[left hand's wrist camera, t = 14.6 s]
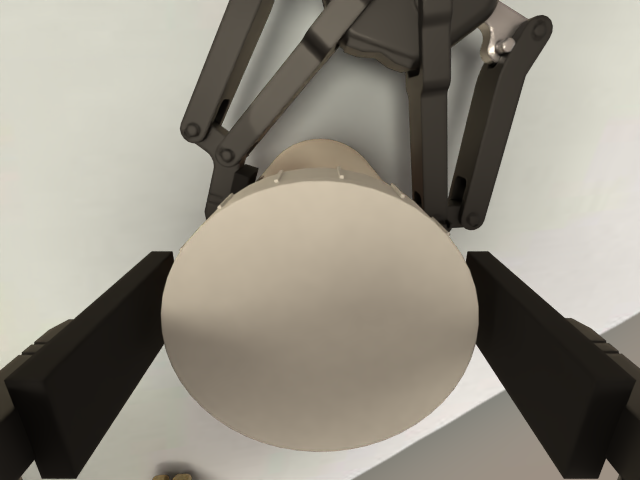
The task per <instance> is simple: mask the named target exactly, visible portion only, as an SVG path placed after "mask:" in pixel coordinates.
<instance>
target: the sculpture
mask: <svg viewBox="0 0 640 480" xmlns="http://www.w3.org/2000/svg"><path fill="white" fill-rule="evenodd" d="M152 480H169V476H168V475H158V476H155V477H154V478H153V479H152ZM172 480H192V477H191V475H190V474H177V475H176V476H175V477H174V478H173V479H172Z"/></svg>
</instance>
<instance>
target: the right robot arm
mask: <svg viewBox="0 0 640 480" xmlns="http://www.w3.org/2000/svg"><path fill="white" fill-rule="evenodd" d="M322 3H323V6H324V10H323V12H322V13H321V14H320V15H319V17H318V18H317V19H316V20H315V22H314V23H313V24H312V25H311V27H310V28H309V29H308V31H307V32H306V34H305V36H304V38H303V39H302V41H301V42H300V43H299V45H298V46H297V47H296V48H295V50H294V51H293V52H292V53H291V55H290V56H289V57H288V58H287V60H286V61H285V62H284V63H283V65H282V66H281V67H280V68H279V70H278V71H277V72H276V73H275V75H274V76H273V77H272V79H271V80H270V81H269V82H268V84H267V85H266V86H265V87H264V89H263V90H262V91H261V92H260V94H259V95H258V96H257V97H256V99H255V100H254V101H253V102H252V104H251V105H250V106H249V107H248V109H247V110H246V111H245V112H244V114H243V115H242V116H241V118H240V119H239V120H238V121H237V123H236V124H235V125H234V126H233V128H232V129H231V130H230V131H227V130H226V129H225V128H223V127H222V126H221V125H222V123H223V121H224V118H225V116H226V114H227V111H228V109H229V107H230V104H231V102H232V100H233V97H234V95H235V93H236V90H237V88H238V86H239V84H240V81H241V79H242V77H243V74H244V72H245V70H246V67H247V65H248V63H249V60H250V58H251V56H252V53H253V51H254V49H255V47H256V44H257V42H258V40H259V37H260V35H261V33H262V30H263V28H264V26H265V23H266V21H267V19H268V17H269V14H270V12H271V9H272V6H273V4H274V0H229V3H228V5H227V8H226V11H225V13H224V16H223V18H222V21H221V23H220V26H219V28H218V31H217V33H216V36H215V38H214V41H213V44H212V46H211V49H210V51H209V54H208V56H207V59H206V61H205V64H204V66H203V69H202V71H201V74H200V77H199V79H198V82H197V84H196V87H195V89H194V92H193V94H192V97H191V99H190V102H189V104H188V107H187V110H186V112H185V115H184V117H183V120H182V122H181V126H180V131H181V134H182V136H183V138H184V139H185V140H187V141H188V142H191V143H195V144H197V145H198V146H199V147H201V148H202V149H204V150H205V151H206V152H207V153H209V154H210V156H211V157H212V159H213V163H214V170H213V175H212V179H211V184H210V189H209V194H208V198H207V203H206V208H205V216H206V220H207V219H208V218H209V217H210V216H211V215H212V214H213V213H214V212H215V211H216V210H217V209H218V208H217V207H218V206H219V205H220V204H221V203H222V202H223V201H224V200H225V199H226V198H227V197H228V196H229V195H230V194H231V193H233V194H236V193H238V192H239V191H241V190H242V189H244V188H245V187H247V186H249V185H251V184H253V183H255V180H256V176H257V172H258V168H256V167H253V166H250V165H247V164H245V165H244V163H245V159H246V157H248V156H249V154H250V152H251V151H252V150H253V149H254V148H255V146H256V145H257V144H258V143H259V142H260V140H261V139H262V138H263V137H264V136H265V134H266V133H267V132H268V131H269V130H270V128H271V127H272V126H273V125H274V124H275V122H276V121H277V120H278V119H279V117H280V116H281V115H282V114H283V113H284V111H285V110H286V109H287V108H288V107H289V105H290V104H291V103H292V102H293V101H294V99H295V98H296V97H297V96H298V95H299V93H300V92H301V91H302V90H303V89H304V87H305V86H306V85H307V84H308V83H309V81H310V80H311V79H312V78H313V77H314V75H315V74H316V73H317V72H318V71H319V69H320V68H321V67H322V66H323V65H324V64H325V63H326V62H327V61H328V59H329V58H330V57H331V56H332V55H333V53H334V52H335V51H336V50H337V49H338V47H339V46H340V47H341V48H342V49H344V52H345V53H347V54H350V55H353V56H356V57H364V58H375V59H376V60H378V61H379V62H380V63H382V64H383V65H384V66H386V67H387V68H389V69H392V70H395V71H398V72H401V73H402V72H405V75H406V90H407V94H408V98H409V121H410V146H411V172H412V197H413V201H414V202H415V203H416V204H417V205H418V206H419V207H420V208H421V209H422V210H423V211H424V212H425V213H426V214H427V215H428V216H429V217H430V218H432V217H434V218H435V219H436V220H437V221H438V222H439V223H440V224H441V225H442V226H443V227H444V228H445V229H446V230H447V231H448V232H450V230H451V229H452V228H459V227H464V228H465V229H468V230H475V229H477V228H479V227H480V226H481V225H482V224H483V222H484V220H485V216H486V213H487V209H488V206H489V202H490V199H491V195H492V192H493V188H494V185H495V181H496V178H497V174H498V171H499V167H500V164H501V160H502V157H503V153H504V150H505V146H506V143H507V139H508V136H509V132H510V129H511V125H512V122H513V118H514V115H515V111H516V108H517V104H518V101H519V97H520V94H521V90H522V87H523V83H524V80H525V76H526V74H527V73H528V71H529V70H530V68H531V67H532V65H533V63H534V62H535V60H536V59H537V57H538V56H539V54H540V52H541V51H542V49H543V48H544V46H545V45H546V43H547V41H548V40H549V38H550V36H551V34H552V29H553V25H552V22H551V20H550V19H549V18H548V17H547V16H544V15H539V16H535V17H533V18H530V19H527V18H525V17H524V16H522V15H521V14H519V13H517V12H516V11H514V10H513V9H511V8H510V7H508V6H506V5H505V4H503V3H502V2H500V1H499V0H322ZM476 28H478V29H480V31H481V33H482V36H483V42H482V45H481V48H480V57H481V59H482V61H484V62H485V63H484V65H483V66H482V69H481V71H480V73H479V76H478V79H477V82H476V86H475V89H474V93H473V98H472V102H471V106H470V110H469V114H468V118H467V122H466V126H465V131H464V135H463V139H462V143H461V147H460V151H459V155H458V159H457V163H456V168H455V172H454V176H453V180H452V184H451V188H450V192H449V196H448V184H447V91H448V88H449V86H450V82H451V47H453V46H454V45H455V44H457V43H458V42H459V41H460V40H462V39H463V38H464V37H466V36H467V35H468V34H470V33H471V32H472V31H474V30H475V29H476Z"/></svg>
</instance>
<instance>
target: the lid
mask: <svg viewBox="0 0 640 480" xmlns="http://www.w3.org/2000/svg"><path fill="white" fill-rule="evenodd" d="M217 208H218V209H217V210H216V211H215V212H214V213H213V214H212V215H211V216H210V217H209V218H208V219H207V220H206V221H205V222H204V223H203V224H202V225H201V226H200V227H199V228H198V230H197V231H196V232H195V233H194V234H193V235H192V236H191V238H190V239H189V240H188V241H187V242H186V243H185V244H184V245H183V246H182V247H181V248H180V250H179V251H180V253H179V254H178V256H177V258H176V259H175V261H174V263H173V266H172V268H171V270H170V273H169V275H168V277H167V281H166V285H165V289H164V292H163V297H162V308H161V324H162V335H163V339H164V344H165V348H166V352H167V354H168V357H169V360H170V362H171V365H172V367H173V369H174V371H175V372H176V374H177V376H178V378H179V380H180V381H181V383H182V384H183V385H184V387H185V388H186V390H187V391H188V392H189V394H190V395H191V396H192V397H193V398H194V399H195V400H196V401H197V402H198V403H199V405H200V406H201V407H202V408H204V409H205V410H206V411H207V412H208V413H210V414H211V415H212V416H213V417H214V418H216V419H217V420H219V421H220V422H222V423H223V424H225V425H226V426H228V427H229V428H231V429H233V430H235V431H237V432H239V433H241V434H243V435H245V436H247V437H249V438H252V439H254V440H257V441H260V442H262V443H266V444H269V445H273V446H277V447H281V448H287V449H292V450H299V451H313V452H323V451H340V450H348V449H354V448H358V447H363V446H368V445H371V444H374V443H377V442H380V441H383V440H386V439H388V438H390V437H393V436H395V435H397V434H400V433H402V432H403V431H405V430H407V429H409V428H410V427H412V426H414V425H416V424H417V423H418V422H420V421H421V420H423V419H424V418H425V417H427V416H428V415H429V414H431V413H432V412H433V411H434V410H435V409H436V408H437V407H438V406H439V405H440V404H441V403H443V402H444V400H445V399H446V398H447V397H448V396H449V394H450V393H451V392H452V391H453V390H454V388H455V387H456V385H457V384H458V382H459V381H460V379H461V378H462V376H463V375H464V372H465V370H466V368H467V366H468V364H469V362H470V360H471V357H472V354H473V350H474V347H475V344H476V339H477V332H478V326H479V306H478V300H477V294H476V288H475V285H474V282H473V279H472V276H471V273H470V270H469V268H468V266H467V264H466V262H465V260H464V258H463V256H462V254H461V252H460V251H459V250H458V248H457V247H456V246H455V244H454V243H453V242H452V240H451V239H450V237H449V235H450V234H449V232H448V231H447V230H446V229H445V228H444V227H443V226H442V225H441V224H440V223H439V222H438V221H437V220H436V219H435V218H434V217H432V218H430V217H429V216H428V215H427V214H426V213H425V212H424V211H423V210H422V209H421V208H420V207H419V206H418V205H417V204H416V203H415V202H414V201H413V200H412V199H410V198H409V197H408V196H406V195H405V194H404V193H402V192H401V191H400V190H399V189H398V188H397V187H396V185H395V184H393V183H391V185H389V184H387V183H385V182H384V181H381V180H378V179H376V178H373V177H371V176H368V175H366V174H362V173H358V172H354V171H349V170H345V169H341V166H337V169H335V168H303V169H297V170H291V171H285V172H284V171H283V170H280V171H279V172H278V174H275V175H272V176H269V177H266V178H264V179H261V180H259V181H257V182H255V183H253V184H251V185H249V186H247V187H245V188H244V189H242V190H241V191H239V192H238V193H236V194H233V193H231V194H230V195H229V196H228V197H227V198H226V199H225V200H224V201H223V202H222V203H221V204H220V205H219V206H218V207H217Z"/></svg>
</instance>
